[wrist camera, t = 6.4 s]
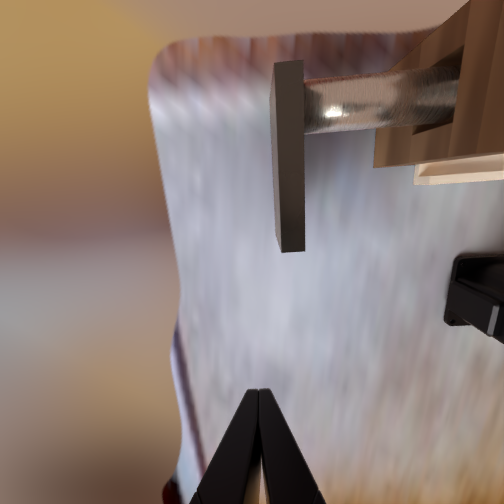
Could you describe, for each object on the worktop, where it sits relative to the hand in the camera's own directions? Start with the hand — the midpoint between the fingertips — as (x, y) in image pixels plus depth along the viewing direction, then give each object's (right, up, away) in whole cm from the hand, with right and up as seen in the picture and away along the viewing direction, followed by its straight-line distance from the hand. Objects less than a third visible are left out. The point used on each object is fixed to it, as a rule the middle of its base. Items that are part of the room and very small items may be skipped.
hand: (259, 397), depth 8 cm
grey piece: (+5, +11, +6) cm, 14 cm away
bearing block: (+11, +15, +9) cm, 20 cm away
